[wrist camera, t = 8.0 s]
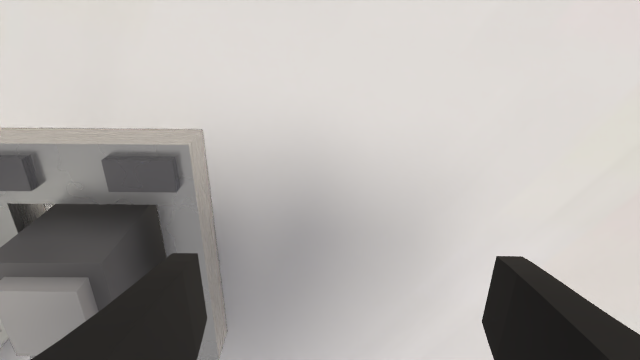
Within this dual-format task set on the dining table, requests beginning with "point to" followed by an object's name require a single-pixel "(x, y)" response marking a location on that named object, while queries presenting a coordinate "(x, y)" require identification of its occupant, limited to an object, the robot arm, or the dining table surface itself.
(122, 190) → the socket plate
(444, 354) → the dining table surface
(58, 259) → the plug
